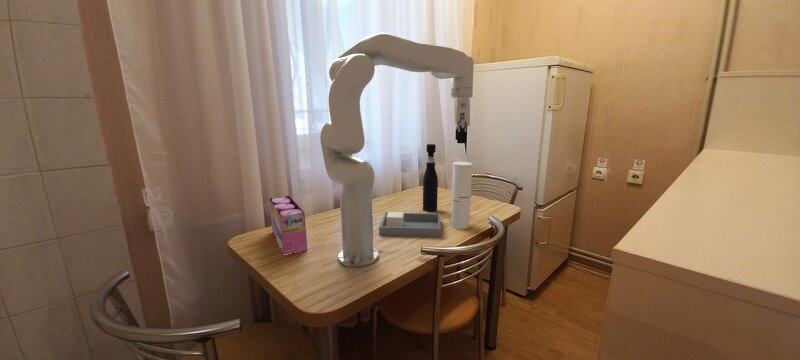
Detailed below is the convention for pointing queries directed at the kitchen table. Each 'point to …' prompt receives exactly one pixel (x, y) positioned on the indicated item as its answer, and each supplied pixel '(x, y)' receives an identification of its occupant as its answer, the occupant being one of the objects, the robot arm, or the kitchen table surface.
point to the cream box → (395, 219)
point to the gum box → (288, 225)
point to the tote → (414, 225)
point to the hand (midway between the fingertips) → (460, 141)
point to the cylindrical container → (461, 195)
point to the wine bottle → (430, 182)
